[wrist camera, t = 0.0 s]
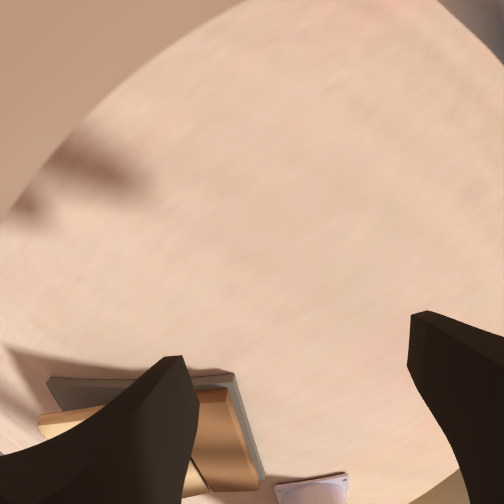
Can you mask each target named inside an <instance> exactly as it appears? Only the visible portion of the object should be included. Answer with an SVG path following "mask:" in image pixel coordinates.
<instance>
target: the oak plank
mask: <svg viewBox="0 0 504 504" xmlns="http://www.w3.org/2000/svg"><path fill="white" fill-rule="evenodd" d="M104 406H105V405H101V406H96V407H90V408H84V409H78V410H72V411H65V412H58V413H50V414H42V415H40V418H39V421H38V424H37V427H38V428H39V430H40V431H41V432H42V434H43V435H44V436H45V438H46V439H47V440H49V439H51V438H53V437H55V436H57V435H59V434H61V433H63V432H65V431H67V430H69V429H71V428H73V427H74V426H76V425H78V424H79V423H81V422H82V421H84V420H86V419H87V418H89V417H90V416H92V415H93V414H95V413H96V412H97V411H99V410H100V409H101V408H103V407H104ZM208 492H210V491H209V488H208V485H207V482H206V480H205V479H204V477H203V475H202V474H201V472H200V471H199V469H198V467H197V466H196V464H195V462H194V460H193V459H192V457H191V458H190V462H189V466H188V470H187V474H186V478H185V482H184V487H183V492H182V498H187V497H191V496H196V495H200V494H204V493H208Z"/></svg>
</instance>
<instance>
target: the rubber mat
mask: <svg viewBox="0 0 504 504" xmlns="http://www.w3.org/2000/svg"><path fill="white" fill-rule="evenodd" d="M190 378H191V381H192V384H193V386H194V389H195V390H208V389H220V388H228V390H229V393H230V397H231V400H232V403H233V406H234V409H235V412H236V415H237V418H238V421H239V424H240V427H241V430H242V433H243V436H244V438H245V441H246V444H247V447H248V450H249V453H250V455H251V458H252V461H253V464H254V466H255V469H256V472H257V474H258V477H259V481H265V472H264V469H263V466H262V463H261V460H260V457H259V454H258V450H257V447H256V444H255V441H254V438H253V435H252V432H251V428H250V425H249V422H248V419H247V415H246V412H245V409H244V406H243V402H242V399H241V395H240V392H239V389H238V385H237V382H236V378H235V375H234V373H233V374H224V375H214V376H202V377H190ZM135 381H136V380H94V379H70V378H55V377H50V379H49V380H48V381H47V382H46V384H47V386H48V388H49V390H50V391H51V393H52V395H53V396H54V398H55V400H56V401H57V403H58V405H59V406H60V408H61V409H62V411H63V412H65V411H72V410H78V409H84V408H90V407H96V406H101V405H107V404H108V403H109V402H110V401H112V400H113V399H114V398H116V397H117V396H118V395H119V394H121V393H122V392H123V391H124V390H125V389H127V388H128V387H129V386H130V385H131V384H132V383H134V382H135Z"/></svg>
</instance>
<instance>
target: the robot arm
mask: <svg viewBox="0 0 504 504" xmlns="http://www.w3.org/2000/svg"><path fill="white" fill-rule="evenodd" d="M407 368H408V370H409V372H410V374H411V377H412V379H413V381H414V383H415V386H416V388H417V390H418V392H419V393H420V395H421V396H422V398H423V400H424V401H425V403H426V405H427V406H428V408H429V409H430V411H431V413H432V414H433V416H434V417H435V419H436V421H437V422H438V424H439V426H440V427H441V429H442V430H443V432H444V434H445V435H446V437H447V439H448V441H449V443H450V445H451V447H452V449H453V452H454V454H455V457H456V459H457V462H458V464H459V467H460V470H461V473H462V476H463V479H464V482H465V485H466V488H467V491H468V496H469V500H470V504H504V337H503V336H499V335H496V334H493V333H490V332H487V331H484V330H481V329H479V328H476V327H473V326H470V325H468V324H465V323H462V322H460V321H457V320H455V319H452V318H449V317H447V316H444V315H441V314H438V313H435V312H432V311H428V310H426V311H423V312H419V313H416V314H412V315H411V322H410V338H409V350H408V360H407ZM199 408H200V401H199V399H198V396H197V394H196V391H195V389H194V386H193V384H192V381H191V378H190V376H189V373H188V370H187V367H186V365H185V362H184V359H183V356H182V355H180V356H167V357H163V358H162V359H161V360H159V361H158V362H157V363H156V364H154V365H153V366H152V367H151V368H150V369H149V370H147V371H146V372H145V373H144V374H143V375H142V376H141V377H139V378H138V379H137V380H136V381H135V382H134V383H132V384H131V385H130V386H129V387H128V388H127V389H125V390H124V391H123V392H122V393H121V394H119V395H118V396H117V397H116V398H114V399H113V400H112V401H110V402H109V403H108V404H107V405H105V406H104V407H103V408H101V409H100V410H99V411H97V412H96V413H95V414H93V415H92V416H90V417H89V418H87V419H86V420H84V421H82V422H81V423H79V424H78V425H76V426H74V427H73V428H71V429H69V430H67V431H65V432H63V433H61V434H59V435H57V436H55V437H53V438H51V439H49V440H47V441H45V442H43V443H40V444H38V445H35V446H32V447H30V448H27V449H24V450H21V451H18V452H14V453H11V454H7V455H3V456H0V504H181V499H182V492H183V487H184V482H185V478H186V474H187V470H188V466H189V462H190V458H191V454H192V450H193V446H194V442H195V438H196V433H197V429H198V420H199ZM348 484H349V474H347V473H344V474H340V475H335V476H330V477H325V478H320V479H314V480H308V481H301V482H294V483H286V484H278V485H275V486H274V490H275V493H276V497H277V500H278V502H279V504H347V493H348Z"/></svg>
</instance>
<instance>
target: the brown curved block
mask: <svg viewBox="0 0 504 504" xmlns="http://www.w3.org/2000/svg"><path fill="white" fill-rule="evenodd" d="M195 391H196V394H197V396H198V399H199V401H200V408H199V420H198V429H197V433H196V438H195V442H194V446H193V450H192V454H191V457H192V459H193V460H194V462H195V464H196V466H197V467H198V469H199V471H200V472H201V474H202V475H203V477H204V479H205V480H206V482H207V484H208V485H209V487H210V488H211V490H212V491H213V492H235V491H256V490H259V477H258V474H257V472H256V469H255V466H254V464H253V461H252V458H251V455H250V453H249V450H248V447H247V444H246V441H245V438H244V436H243V433H242V430H241V427H240V424H239V421H238V418H237V415H236V412H235V409H234V406H233V403H232V400H231V397H230V393H229V390H228V388H220V389H208V390H195Z"/></svg>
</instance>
